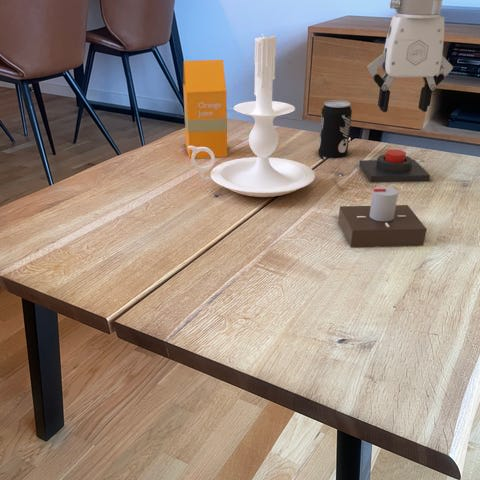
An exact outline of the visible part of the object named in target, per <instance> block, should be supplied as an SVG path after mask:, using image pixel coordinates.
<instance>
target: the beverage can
mask: <svg viewBox="0 0 480 480" xmlns="http://www.w3.org/2000/svg"><path fill="white" fill-rule="evenodd" d="M323 104H324V105H323V107H322V109H321V115H320V117H321V118H320V128H319V138H318V139H319V140H318V156H319V157H320V159H322V160H324V161H325V158H329V159H341V158H345V157H347V156H348V150H349V141H350V131H351V125H352V123H351V122H352V116H353V115H352V113H353V110H352V108H351V102H350V101H347V100H341V99H340V100H339V99H336V100H335V99H333V100H332V99H331V100H327V101H324V103H323Z"/></svg>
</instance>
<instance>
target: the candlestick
mask: <svg viewBox="0 0 480 480" xmlns="http://www.w3.org/2000/svg"><path fill="white" fill-rule="evenodd" d="M261 35H262V37H255V38H254V59H253V61H254V89H253V90H254V91H253V95H254V96H255V100H251V101H244V102H240V103H237V104H235V105H234V106H233V110H234V111H235V112H237V113H240V114H242V115H246V116H250V117H251V118H253V120H254V124H253V127H252V129H251V131H249V135H248V145H249V147H250V150H251V151H252V152H253V154H254V155H256V156H253V157H252V156H251V157H241V158H236V159H231V160H227V161H224V162H222V163H219V164H218V165H216V166H215V167H213V166H214V165H215V160H216V157H214V154H213V152H212V151H211V150H210V149H209V148H207V147H194V146H188V148H189V149H191V150H192V151H193V153H192V157H191V159H190V160H191V164H192V166H193V167H194V168H195V169H196V170H197V171H198V172H199V175H200V178H201V179H202V180H204V181H210V182H211V181H213V182H215V184H217V185H220V186H222V187H223V188H226V189H228V190H230V191H232V192H234V193H237V194H239V195H243V196H247V197H256V198H269V197H270V198H271V197H272V198H273V197H278V196H279V197H280V196H284V195H288V194H292V193H293V192H295V191H298V190H299V189H302V188H305V187H306V186H309V185H310V184H312V183H313V182H314V180H315V179H316V173H315V172H314V170H313V169H312V168H311V167H309V166H308V165H306V164H304V163H301V162H299V161H296V160H291V159H287V158H280V157H272V156H271V155H272V154H273V153H275V151H276V149H277V147H278V144H279V135H278V132H277V130H276V128H275V126H274V119H275V118H277V117H279V116H284V115H287V114H291V113H292V112H294V111H295V110H296V107H295V105H292V104H290V103H287V102H282V101H275V100H273V86H274V84H273V82H274V80H275V79H276V55H277V35H272V36H265V35H264V34H263V33H261ZM200 151H205V152H207V153H209V154H210V156H211V158H210V163H208V164H207V165H205V166H202V165H199V164H198V163H197V162H196V158H195V155H196V154H197V153H198V152H200ZM270 156H271V157H270ZM212 168H213V169H212ZM210 169H212V170H211V171H210V176H206V175H205V173H206V172H208V171H209V170H210Z"/></svg>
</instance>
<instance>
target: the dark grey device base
mask: <svg viewBox="0 0 480 480" xmlns="http://www.w3.org/2000/svg"><path fill="white" fill-rule="evenodd" d="M385 156H386V153H385V154H380V155H379V156H378V157H377V159H369V160H368V159H367V160H365V159H364V160H363V159H362V160H361V159H360V160H359V164H358V167H359V169H360V171H362V173H363V174H364V175H365V177H366V178H367V180H368V181H369V182H370V183H412V182H416V183H417V182H429V181H430V178H431V177H430V176H431V174H429V172H427V170H425V169H424V168H423V167H422V165H420V164H419V163H418V162H417V160H415V159H413V158H412V157H410V156H407V155H406V157H405V162H402V163H395V162H388V161H386V160H385Z"/></svg>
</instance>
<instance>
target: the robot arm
mask: <svg viewBox="0 0 480 480" xmlns="http://www.w3.org/2000/svg"><path fill="white" fill-rule="evenodd" d="M442 5H443V0H391V1H390V4H389V8H390V9H391V10H392V9H394V10H395V13H396V14H393V16H392V17H391V21H390V24H389V28H388V31H387V35H386V38H385V44H384V48H383V52H382V53H381V54H380V55H379V56H378V57H376V58H375V59H374V60H372V62H370V63H368V64H367V66H366V70H367V72H368V73H369V76H371V78H372V80H373V81H374V82H375V84H376V85H377V86H378V88H379V93H378V101H377V107H379V110H380V111H381V112H382V113H387V112H388V110H389V104H390V97H391V91H390V90H389V89H390V86H391V84H392V83H393V81H394V80H395V78H422V80H423V83H424V85H423V86H422V87H421V89H420V94H419V96H420V97H419V101H418V106H417V107H418V109H419V110H420V111H422V112H423V113H426V112H427V111H428V107H430V106H431V101H432V96H433V91H434V90H435V89H437V87H438V85H439V84H441V82H443V80H444V79H445V78H446V77H447V76H448V75H449V74H450V72H451V71H452V70H453V68H454V66H453V65H452V63H451V62H449V60H447V58H445V56H444V55H443V51H444V40H445V16H443V15H441V11H442ZM380 67H381V70H382V72H384V74H383V75H382V77H381V75H380V74H379V72H378V69H379V68H380Z"/></svg>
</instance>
